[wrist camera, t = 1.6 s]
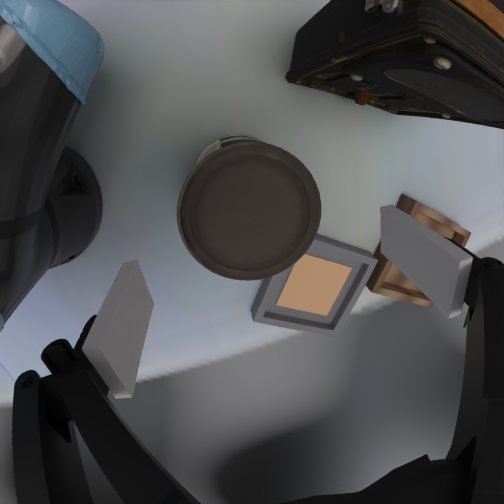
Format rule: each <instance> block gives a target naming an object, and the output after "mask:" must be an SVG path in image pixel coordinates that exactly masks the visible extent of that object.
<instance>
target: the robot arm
mask: <svg viewBox="0 0 504 504" xmlns="http://www.w3.org/2000/svg"><path fill="white" fill-rule="evenodd" d="M103 57H104V43H103V40H102V38H101V36H100V35H99V33H98V32H97V31H96V30H95V29H94V28H93V27H92V26H91V25H90V24H89V23H88V22H87V21H86V20H85V19H83V18H82V17H81V16H80V15H78V14H77V13H75V12H74V11H73V10H71V9H70V8H68V7H67V6H65V5H64V4H62V3H60V2H59V1H57V0H0V332H1V330H2V329H3V328H4V324H5V323H6V321H7V320H8V319H9V317H10V316H11V315H12V313H13V312H14V311H15V309H16V308H17V307H18V305H19V304H20V303H21V302H22V300H23V299H24V298H25V296H26V295H27V294H28V293H29V291H30V290H31V289H32V288H33V287H34V285H35V284H36V283H37V282H38V281H39V279H40V278H41V277H42V276H43V275H44V273H45V272H46V271H47V270H48V269H50V268H53V267H56V266H59V265H61V264H65V263H67V262H70V261H72V260H74V259H75V258H77V257H78V256H79V255H80V254H82V253H83V251H84V250H85V249H86V248H87V247H88V246H89V245H90V243H91V242H92V241H93V239H94V238H95V236H96V234H97V232H98V229H99V226H100V222H101V217H102V197H101V192H100V188H99V184H98V181H97V179H96V177H95V175H94V173H93V171H92V169H91V168H90V166H89V165H88V164H87V162H86V161H85V160H84V159H83V158H82V157H81V156H80V155H79V154H77V153H76V152H74V151H73V150H71V149H69V148H67V147H64V145H65V143H66V140H67V138H68V135H69V133H70V131H71V128H72V126H73V124H74V122H75V119H76V117H77V115H78V113H79V111H80V109H81V107H82V105H85V103H86V100H87V98H86V95H87V92H88V90H89V88H90V85H91V83H92V81H93V79H94V77H95V75H96V73H97V71H98V69H99V67H100V65H101V63H102V60H103ZM380 212H381V253H382V254H383V255H384V256H385V257H386V258H387V259H389V260H390V261H391V262H392V263H393V264H394V265H395V266H396V267H397V268H398V269H399V270H400V271H401V272H402V273H403V274H404V275H405V276H406V277H407V278H408V279H410V280H411V281H412V282H413V283H414V284H415V285H416V286H417V287H418V288H419V289H420V290H421V291H422V292H423V293H424V294H425V295H426V296H427V297H428V298H429V299H430V300H431V301H432V302H433V303H434V304H435V306H437V308H438V309H439V310H440V311H441V312H442V313H443V314H444V315H445V316H446V317H447V318H448V319H450V318H452V317H454V316H457V315H459V314H461V311H462V307H463V303H464V302H465V303H466V304H467V305H468V306H469V308H468V312H467V316H466V319H465V323H464V326H463V327H466V325H467V337H466V354H465V366H464V375H463V384H462V392H461V399H460V406H459V412H458V417H457V422H456V427H455V432H454V437H453V441H452V445H451V448H450V450H449V452H448V454H447V456H446V458H445V459H439V460H432V461H430V459H429V458H428V455H427V454H426V455H424V456H422V457H420V458H418V459H415V460H413V461H411V462H409V463H407V464H405V465H402V466H400V467H398V468H396V469H393V470H392V471H391V472H389V473H388V474H386V475H385V476H384V477H382V478H380V479H379V480H377V481H376V482H374V483H373V484H371V485H370V486H368V487H367V488H365V489H363V490H362V491H359V492H355V493H347V494H346V493H345V494H333V495H316V496H312V497H308V498H303V499H299V500H295V501H290V502H285V503H280V504H504V264H503V263H502V262H501V261H499V260H497V259H495V258H491V257H485V258H481V259H480V258H478V257H477V256H476V255H474V254H473V253H471V252H470V251H468V250H467V249H466V248H464V247H463V246H461V245H459V244H458V243H457V242H455V241H454V240H452V239H450V238H447V237H445V236H441V235H440V234H438V233H437V232H435V231H434V230H432V229H431V228H429V227H428V226H426V225H424V224H423V223H421V222H420V221H418V220H416V219H415V218H413V217H411V216H410V215H408V214H407V213H405V212H403V211H402V210H400V209H398V208H397V207H395V206H393V205H388V206H383V207H380ZM153 306H154V302H153V300H152V297H151V295H150V292H149V290H148V287H147V285H146V282H145V280H144V277H143V275H142V272H141V270H140V267H139V264H138V262H137V260H135V261H130V262H126V263H124V264H123V266H122V268H121V269H120V271H119V273H118V275H117V277H116V279H115V281H114V283H113V285H112V286H111V288H110V290H109V292H108V294H107V296H106V298H105V300H104V302H103V304H102V306H101V308H100V310H99V312H98V314H97V315H93V316H92V317H91V318H90V319H89V320H88V322H87V323H86V324H85V326H84V328H83V332H82V333H81V335H80V338H79V339H78V341H77V343H76V345H75V347H74V349H73V348H72V346H71V345H70V343H69V342H68V341H67V340H66V339H58V340H55V341H53V342H51V343H50V344H49V345H47V346H46V348H45V349H44V350H43V352H42V354H41V359H42V361H43V362H44V364H45V365H46V366H47V368H48V369H49V371H50V372H51V373H52V374H51V375H48V376H45V377H42V378H41V377H40V376H39V374H38V373H37V372H36V371H35V370H29V371H26V372H24V373H22V374H21V375H20V376H19V377H18V379H17V380H16V382H15V385H14V397H13V418H12V420H13V422H12V445H13V465H14V478H15V488H16V496H17V503H18V504H94V502H93V499H92V496H91V492H90V489H89V486H88V483H87V479H86V476H85V472H84V468H83V464H82V460H81V456H80V453H79V448H78V443H77V439H76V434H75V428H74V424H73V421H74V422H75V425H76V426H77V428H78V430H79V432H80V434H81V436H82V438H83V439H84V441H85V443H86V445H87V447H88V448H89V450H90V452H91V453H92V455H93V457H94V458H95V460H96V461H97V463H98V465H99V467H100V468H101V469H102V471H103V473H104V474H105V476H106V477H107V479H108V480H109V482H110V483H111V485H112V486H113V488H114V489H115V490H116V492H117V493H118V495H119V496H120V497H121V499H122V500H123V501H124V503H125V504H201V503H200V502H199V501H198V500H196V498H194V497H193V496H192V495H191V494H190V493H189V492H188V491H187V490H186V489H185V488H184V487H183V486H182V485H181V484H180V483H179V482H178V481H177V480H176V479H175V478H174V477H173V476H172V475H171V474H170V473H169V472H168V471H167V470H166V469H165V468H164V467H163V466H162V464H161V463H160V462H159V461H158V460H157V459H156V458H155V457H154V456H153V455H152V453H151V452H150V451H149V450H148V449H147V448H146V446H145V445H144V444H143V443H142V442H141V440H140V439H139V438H138V437H137V436H136V434H135V433H134V432H133V431H132V429H131V428H130V427H129V426H128V424H127V423H126V422H125V421H124V419H123V418H122V417H121V415H120V414H119V413H118V411H117V410H116V409H115V407H114V406H113V404H112V403H111V402H110V400H109V399H108V398H107V395H108V391H109V390H110V391H111V392H112V394H113V395H114V396H115V398H130V397H132V396H133V390H134V386H135V381H136V376H137V372H138V367H139V363H140V358H141V354H142V350H143V345H144V341H145V337H146V333H147V329H148V325H149V321H150V317H151V313H152V309H153Z"/></svg>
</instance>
